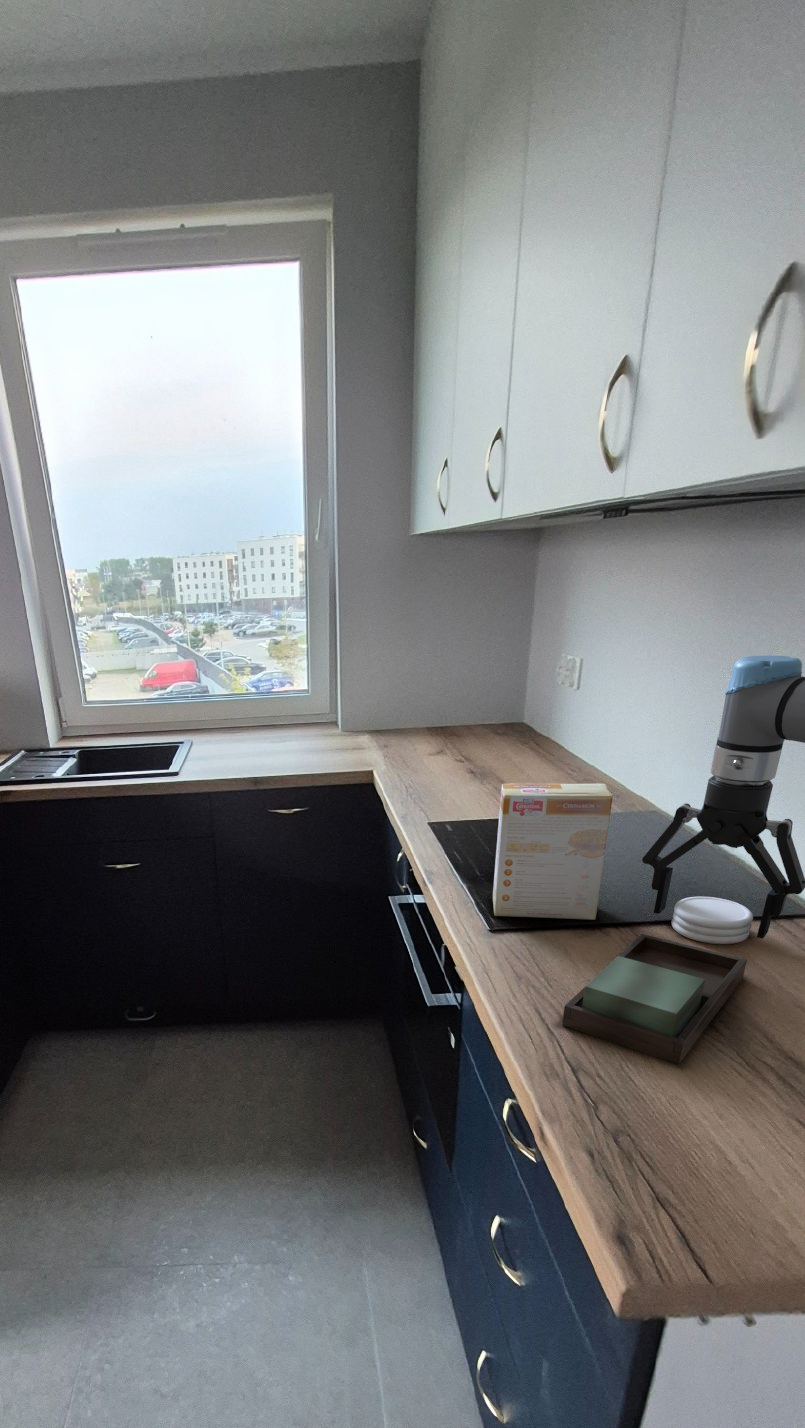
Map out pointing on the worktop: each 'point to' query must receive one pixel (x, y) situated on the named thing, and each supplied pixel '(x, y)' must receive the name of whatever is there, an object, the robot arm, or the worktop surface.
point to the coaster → (712, 920)
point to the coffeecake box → (550, 850)
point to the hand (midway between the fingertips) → (708, 922)
